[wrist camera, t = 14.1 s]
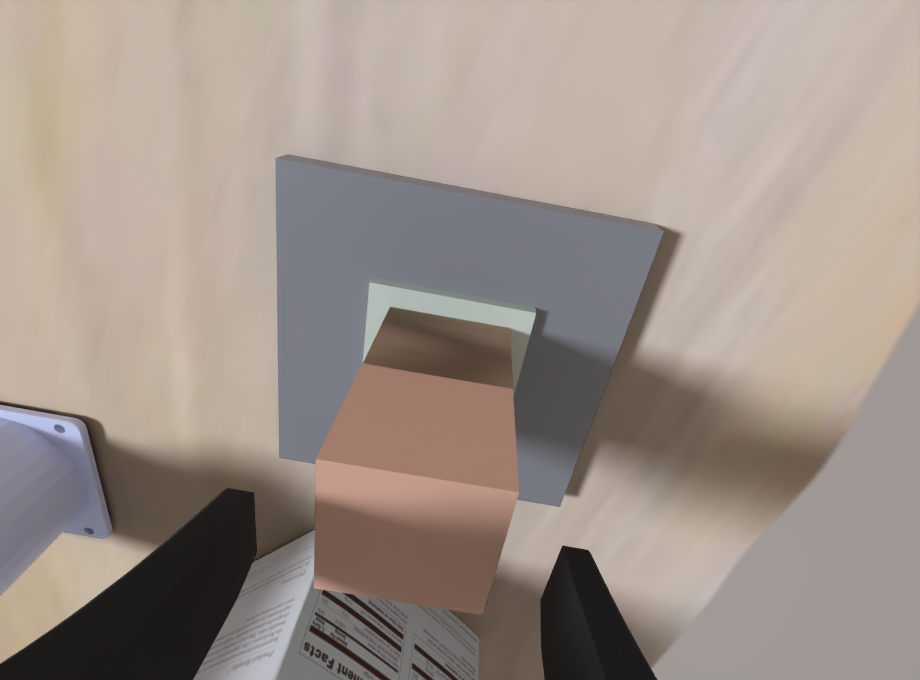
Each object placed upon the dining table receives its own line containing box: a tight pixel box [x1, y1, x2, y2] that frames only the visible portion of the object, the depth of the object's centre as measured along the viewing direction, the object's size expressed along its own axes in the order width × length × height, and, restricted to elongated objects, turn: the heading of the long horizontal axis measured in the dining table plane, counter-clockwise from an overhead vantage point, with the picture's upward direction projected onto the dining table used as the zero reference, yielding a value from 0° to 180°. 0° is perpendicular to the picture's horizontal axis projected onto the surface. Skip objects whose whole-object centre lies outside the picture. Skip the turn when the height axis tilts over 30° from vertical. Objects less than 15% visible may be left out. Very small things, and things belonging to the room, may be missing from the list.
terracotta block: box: [314, 364, 519, 615], centre depth 13 cm, size 4×4×4 cm
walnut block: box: [363, 307, 514, 390], centre depth 17 cm, size 4×4×4 cm
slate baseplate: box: [276, 154, 664, 507], centre depth 19 cm, size 13×13×2 cm
